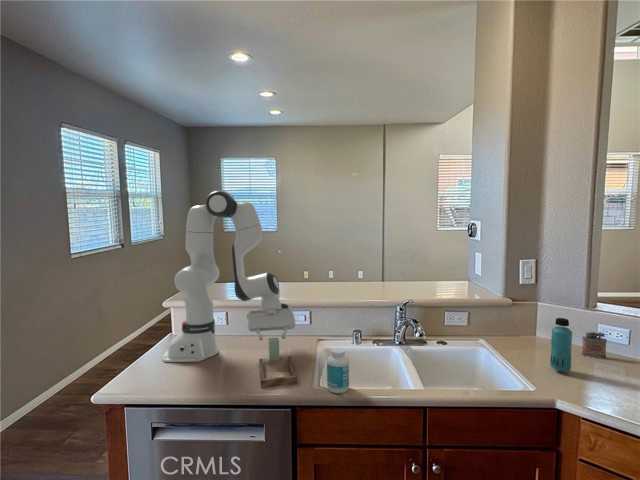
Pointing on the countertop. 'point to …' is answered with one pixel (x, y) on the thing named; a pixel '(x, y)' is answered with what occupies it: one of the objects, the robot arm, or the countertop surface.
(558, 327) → the beverage bottle
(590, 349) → the lighter
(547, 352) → the countertop surface
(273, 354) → the sage block
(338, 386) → the pill bottle
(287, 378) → the walnut lane
